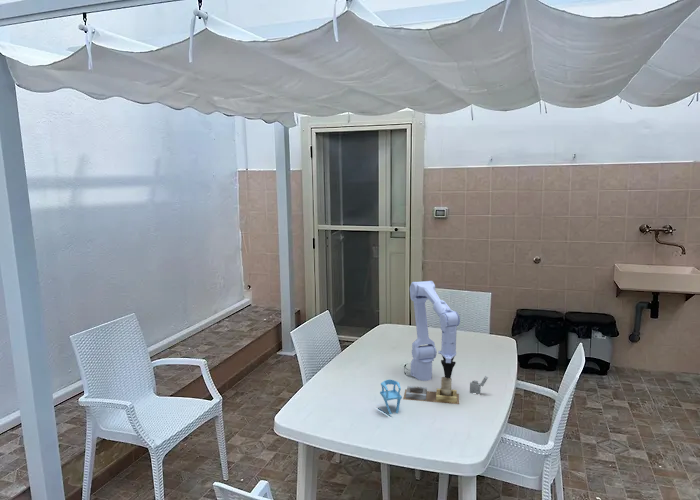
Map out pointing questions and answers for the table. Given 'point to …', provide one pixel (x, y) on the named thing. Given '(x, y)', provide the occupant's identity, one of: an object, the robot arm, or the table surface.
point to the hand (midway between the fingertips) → (447, 374)
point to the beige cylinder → (446, 386)
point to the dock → (430, 395)
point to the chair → (390, 394)
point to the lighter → (477, 386)
